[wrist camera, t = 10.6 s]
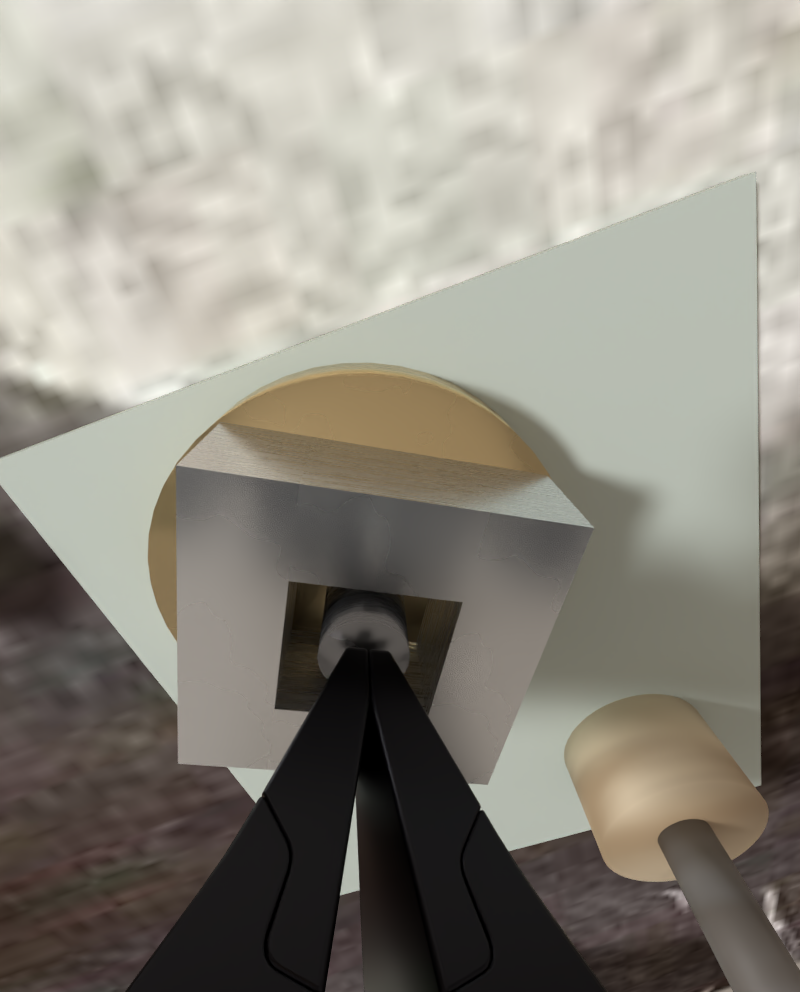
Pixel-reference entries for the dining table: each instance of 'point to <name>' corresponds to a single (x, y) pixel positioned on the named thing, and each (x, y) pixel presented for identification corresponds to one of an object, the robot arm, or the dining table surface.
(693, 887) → the stand
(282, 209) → the dining table surface
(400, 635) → the bell
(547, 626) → the square ring
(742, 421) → the mat
